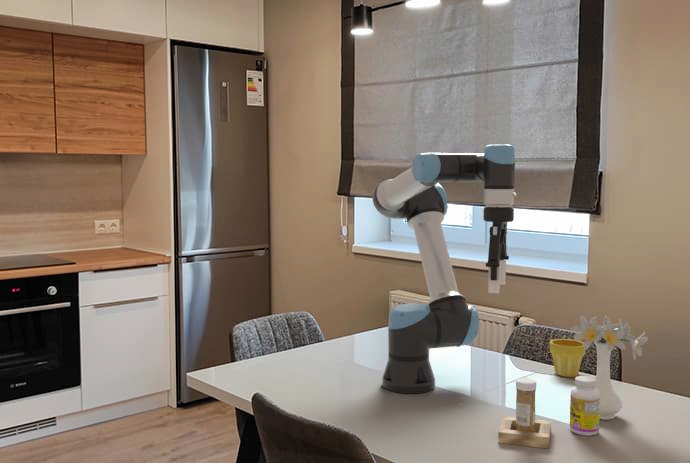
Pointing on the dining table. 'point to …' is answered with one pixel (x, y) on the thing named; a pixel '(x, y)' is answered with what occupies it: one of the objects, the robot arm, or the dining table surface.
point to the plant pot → (567, 356)
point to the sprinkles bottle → (525, 404)
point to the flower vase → (607, 356)
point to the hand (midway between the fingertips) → (497, 288)
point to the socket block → (525, 433)
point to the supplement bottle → (585, 407)
